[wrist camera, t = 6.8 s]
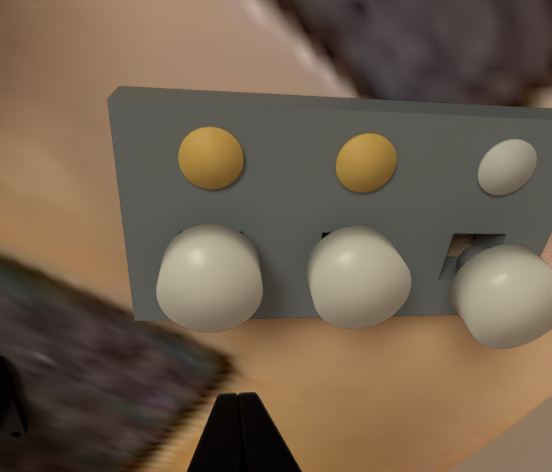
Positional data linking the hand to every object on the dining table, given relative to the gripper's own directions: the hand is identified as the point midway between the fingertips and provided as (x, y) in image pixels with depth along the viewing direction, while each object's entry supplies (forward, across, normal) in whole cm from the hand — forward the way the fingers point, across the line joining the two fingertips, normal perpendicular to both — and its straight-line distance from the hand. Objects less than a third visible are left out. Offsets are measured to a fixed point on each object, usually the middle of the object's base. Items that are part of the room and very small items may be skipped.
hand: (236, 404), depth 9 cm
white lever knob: (+9, -11, +2) cm, 15 cm away
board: (+11, -5, 0) cm, 12 cm away
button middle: (+10, -5, +2) cm, 12 cm away
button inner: (+10, +1, +2) cm, 11 cm away
